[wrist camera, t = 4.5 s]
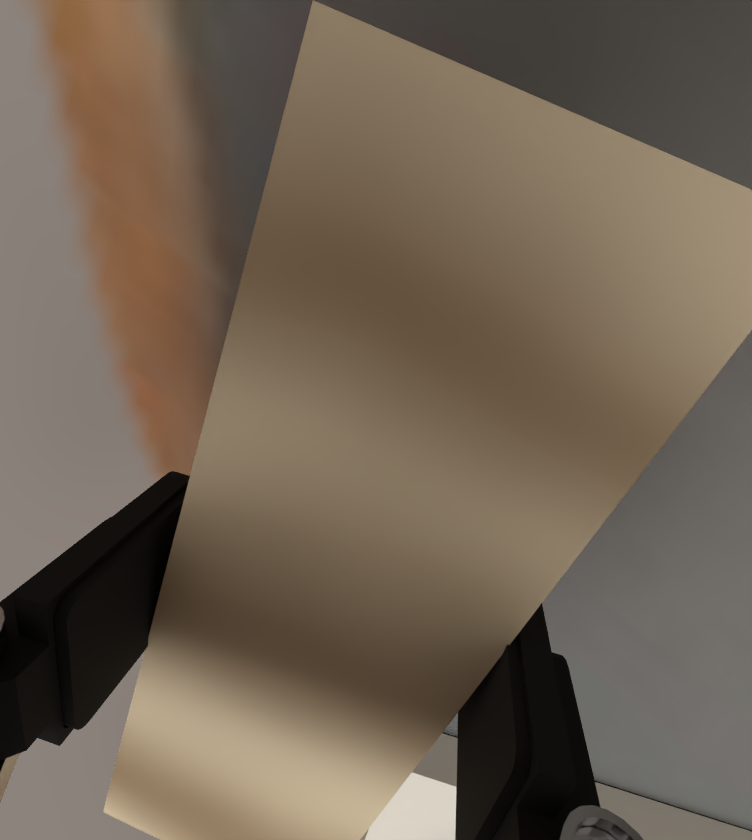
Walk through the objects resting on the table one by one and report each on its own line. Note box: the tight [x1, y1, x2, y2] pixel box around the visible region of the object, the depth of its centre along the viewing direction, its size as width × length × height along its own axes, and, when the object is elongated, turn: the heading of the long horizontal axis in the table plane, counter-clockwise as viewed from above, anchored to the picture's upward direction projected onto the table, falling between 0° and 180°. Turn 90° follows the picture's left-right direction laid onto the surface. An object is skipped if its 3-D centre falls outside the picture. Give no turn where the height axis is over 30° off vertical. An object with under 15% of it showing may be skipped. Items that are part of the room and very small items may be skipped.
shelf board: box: [103, 0, 752, 840], centre depth 10 cm, size 18×6×3 cm, turn 158°
